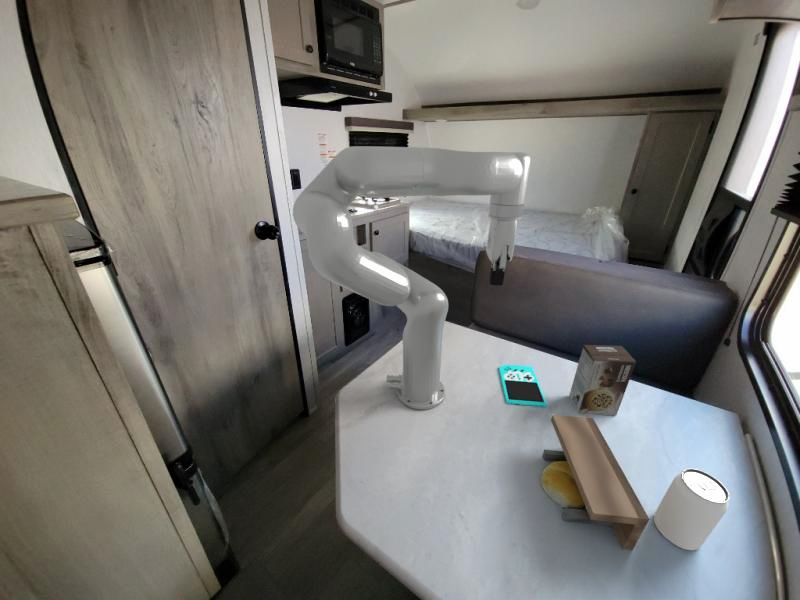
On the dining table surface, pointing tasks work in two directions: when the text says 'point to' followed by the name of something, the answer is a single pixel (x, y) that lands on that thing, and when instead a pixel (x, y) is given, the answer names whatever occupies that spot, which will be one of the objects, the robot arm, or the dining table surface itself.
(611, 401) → the coffee box
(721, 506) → the can
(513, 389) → the handheld game console
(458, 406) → the dining table surface
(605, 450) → the overhang shelf
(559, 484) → the bread roll
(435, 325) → the robot arm
